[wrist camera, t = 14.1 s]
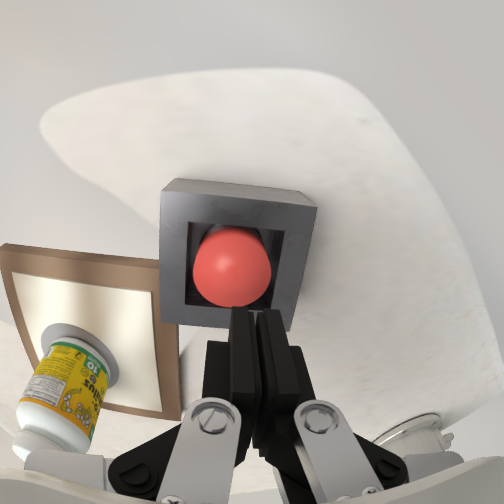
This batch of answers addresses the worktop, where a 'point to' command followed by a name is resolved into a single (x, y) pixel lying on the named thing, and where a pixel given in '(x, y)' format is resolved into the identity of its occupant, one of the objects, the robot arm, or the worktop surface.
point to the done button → (231, 266)
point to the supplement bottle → (62, 399)
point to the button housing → (236, 214)
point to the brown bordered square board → (99, 320)
